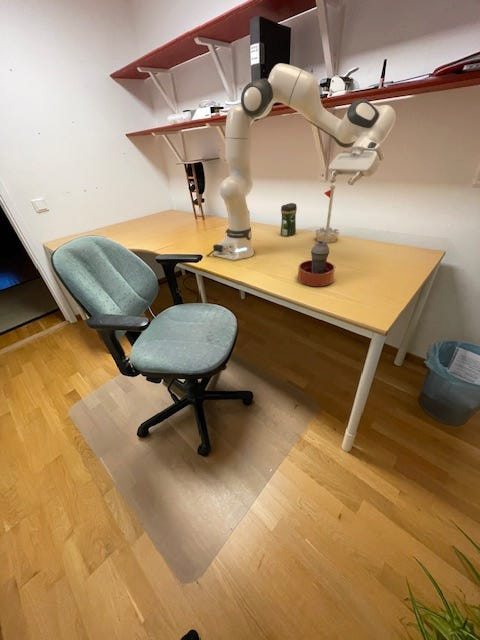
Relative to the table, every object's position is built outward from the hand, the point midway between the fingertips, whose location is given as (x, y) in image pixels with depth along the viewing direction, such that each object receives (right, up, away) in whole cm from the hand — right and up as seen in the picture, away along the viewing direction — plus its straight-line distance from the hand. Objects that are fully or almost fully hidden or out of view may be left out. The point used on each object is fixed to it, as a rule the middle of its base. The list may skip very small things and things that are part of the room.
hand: (340, 183), depth 100 cm
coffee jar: (-8, +1, +65) cm, 66 cm away
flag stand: (+12, -6, +52) cm, 54 cm away
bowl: (-7, -36, +11) cm, 39 cm away
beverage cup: (-6, -36, +11) cm, 38 cm away
